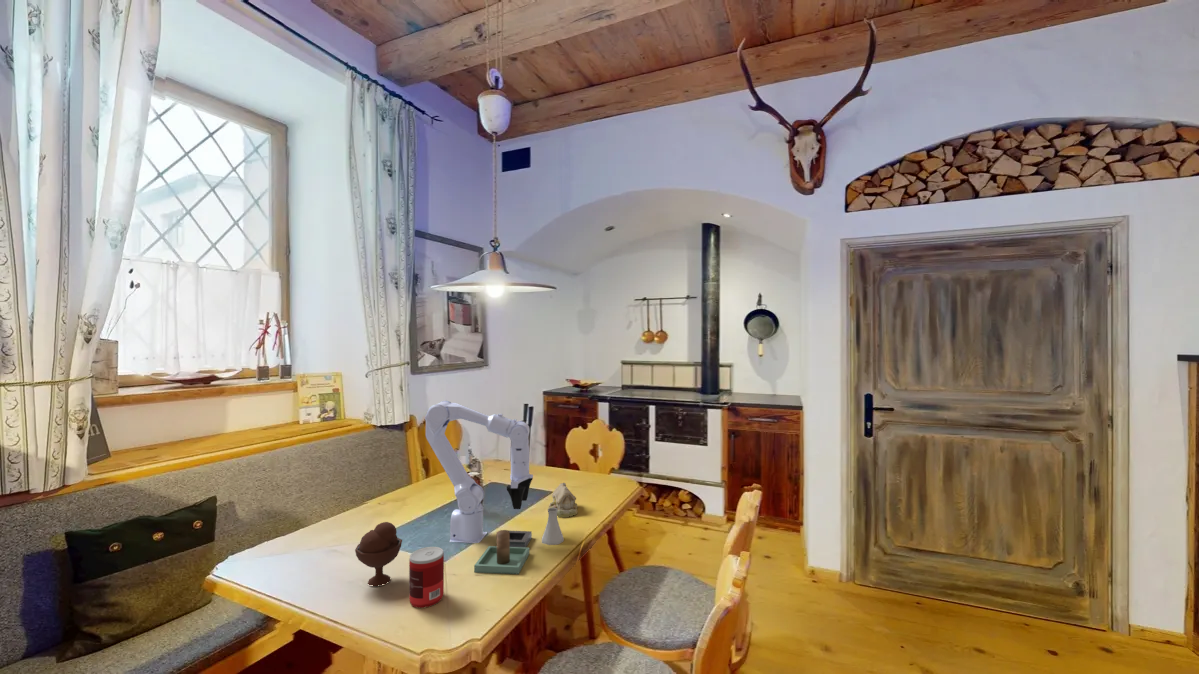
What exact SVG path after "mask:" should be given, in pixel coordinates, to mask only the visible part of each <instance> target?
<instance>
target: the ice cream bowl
mask: <svg viewBox="0 0 1199 674" xmlns="http://www.w3.org/2000/svg"><path fill="white" fill-rule="evenodd" d="M397 533H398V532H397V528H396V526H395V525H394V524H392V523H391V522H389V521H384V522H381V523H379V524H377V525H376V526H375V527H374V529H371V530H369V531H368V532H366V533H365V534H364V535H363V536H362V537H361V540H360V542H359V543H358V544H357V546H356V547H355V549H354V551H355V556H356V557H357V559H358V561H360V563H362V564H364V565H365V566H366V567H369V568H374V569H375V570H374V571H375V574H374V575H373V576H372V577H371V578H369V579H368V581H367V584H369V585H373V586H378V585H382V584H386V583H387V582H389V581H390V582H391V580H390V578H391V576H390V575H388V574H385V573H384V567H385V566H386V565H388V564H390V563H391V562H393V561H394V560H395V558H397V557H398V555H399V553H400V550H401V547H402V544H403V539H401V538H399V537H398V535H397ZM390 582H389V583H390ZM387 584H388V583H387ZM387 584H386V585H387Z"/></svg>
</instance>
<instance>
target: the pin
mask: <svg viewBox="0 0 1199 674" xmlns="http://www.w3.org/2000/svg"><path fill="white" fill-rule="evenodd" d="M509 531H510V530H507V529H500V530H498V531H497V532H496V546H497V563H498V564H507V563H509V562H510V533H509Z"/></svg>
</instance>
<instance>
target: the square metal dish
mask: <svg viewBox="0 0 1199 674" xmlns="http://www.w3.org/2000/svg"><path fill="white" fill-rule="evenodd" d="M508 531H509V533H510V547H527V548H528V545H529V543H530V542H531V540H532V538H533V537H532V534H533V533H532V531H529V530H527V531H525V530H508Z"/></svg>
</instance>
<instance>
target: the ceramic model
mask: <svg viewBox="0 0 1199 674" xmlns="http://www.w3.org/2000/svg"><path fill="white" fill-rule="evenodd" d="M551 494H552V495H551V498H552V501H551V502H549V505H548V508H547V510H548V509H549V508H558V512H557V516H558V517H557V518H560V517H562V518H569V516H570V517H574V516H576V515H577V514H578V507H579V506H578V504H577V502H576V500H577V497H576V496H575V495H574V494H573V493H572V492H571V490H570V489H569V488H568V486H567V484H566V483H565V482H563V483H559V485H558V486H557V487H556V488H555V489H554V490H553V492H552V493H551ZM573 515H574V516H573Z"/></svg>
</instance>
